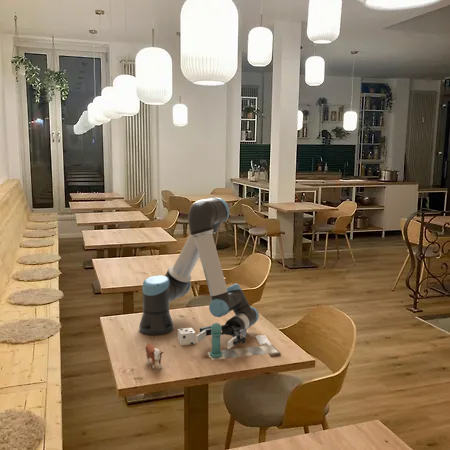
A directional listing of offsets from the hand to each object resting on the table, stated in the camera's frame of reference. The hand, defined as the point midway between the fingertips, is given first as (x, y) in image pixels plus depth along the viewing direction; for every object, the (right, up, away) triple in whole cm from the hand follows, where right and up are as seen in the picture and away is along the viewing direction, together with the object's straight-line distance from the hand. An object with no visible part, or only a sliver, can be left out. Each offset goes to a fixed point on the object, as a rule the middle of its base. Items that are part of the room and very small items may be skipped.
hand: (212, 342), depth 187 cm
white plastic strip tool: (+21, -6, +20) cm, 30 cm away
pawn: (+1, -6, +4) cm, 7 cm away
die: (-11, -5, +17) cm, 21 cm away
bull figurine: (-21, -8, -4) cm, 23 cm away
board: (+12, -7, +7) cm, 16 cm away
